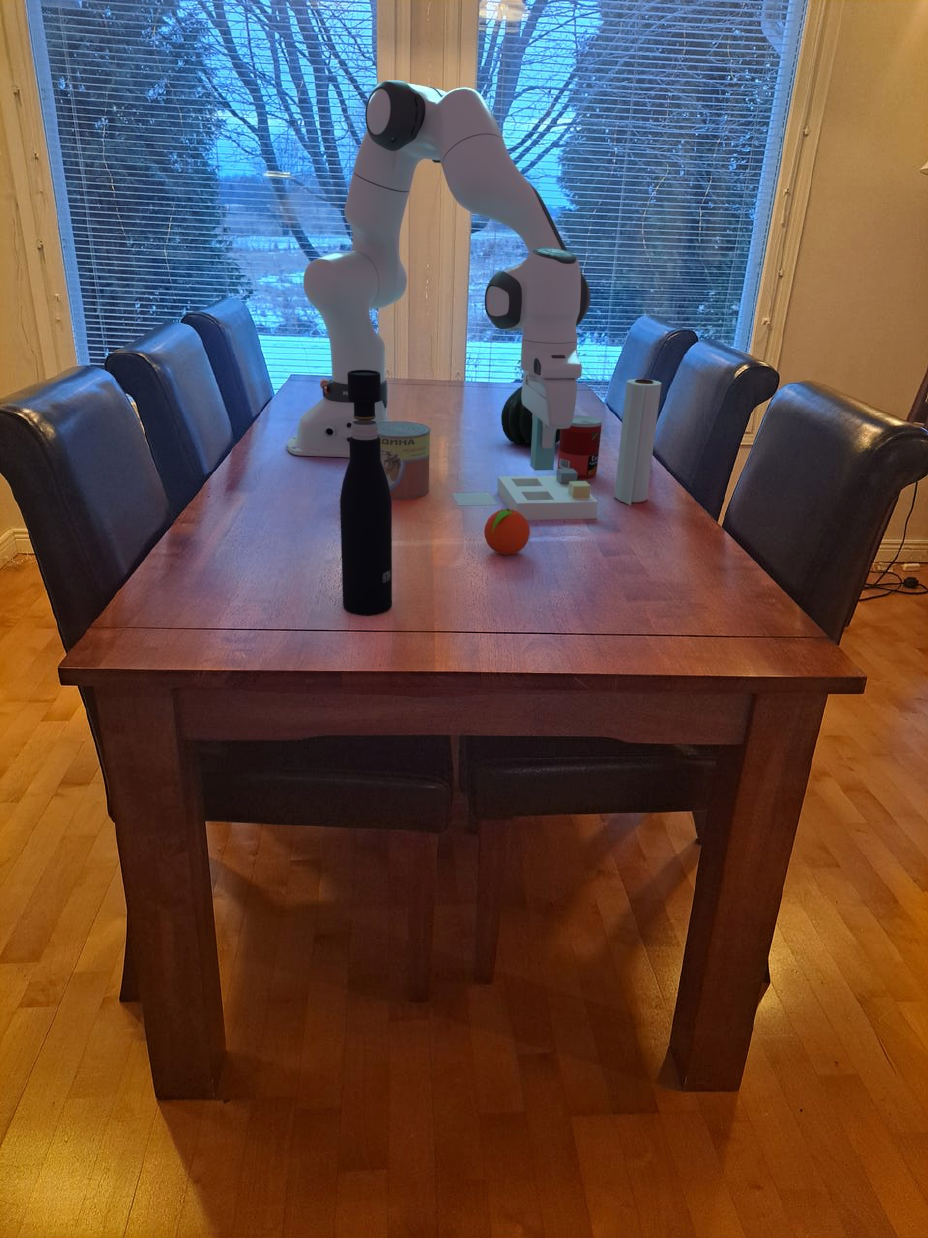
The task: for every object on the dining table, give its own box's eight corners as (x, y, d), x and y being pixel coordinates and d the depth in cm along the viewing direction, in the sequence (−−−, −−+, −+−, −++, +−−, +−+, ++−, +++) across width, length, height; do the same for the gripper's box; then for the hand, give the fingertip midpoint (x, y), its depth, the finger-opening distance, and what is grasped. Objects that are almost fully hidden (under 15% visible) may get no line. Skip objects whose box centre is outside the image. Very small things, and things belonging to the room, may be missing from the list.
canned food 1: (356, 498, 158) (355, 431, 153) (383, 481, 168) (383, 418, 163) (414, 506, 155) (415, 438, 150) (438, 489, 164) (439, 425, 159)
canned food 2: (595, 480, 173) (600, 425, 168) (554, 477, 174) (559, 421, 170) (597, 470, 180) (603, 416, 175) (558, 467, 181) (563, 413, 176)
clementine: (511, 567, 130) (513, 521, 127) (471, 557, 133) (472, 512, 130) (536, 551, 136) (539, 507, 133) (497, 542, 139) (499, 499, 136)
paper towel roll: (626, 491, 167) (640, 376, 158) (653, 499, 163) (668, 381, 154) (603, 498, 162) (615, 380, 153) (630, 506, 158) (644, 385, 149)
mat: (458, 508, 154) (458, 505, 154) (451, 496, 160) (452, 493, 160) (497, 507, 155) (497, 504, 155) (489, 495, 162) (489, 492, 161)
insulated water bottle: (343, 595, 119) (337, 367, 106) (391, 595, 119) (391, 368, 106) (341, 615, 113) (335, 376, 100) (392, 615, 113) (391, 377, 101)
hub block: (516, 523, 148) (517, 491, 146) (497, 494, 162) (498, 465, 160) (596, 521, 150) (599, 490, 148) (570, 493, 165) (572, 464, 162)
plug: (534, 470, 147) (538, 410, 143) (530, 465, 150) (533, 406, 146) (553, 470, 148) (557, 409, 143) (548, 465, 150) (552, 405, 146)
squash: (526, 431, 185) (561, 372, 187) (479, 421, 196) (512, 365, 197) (559, 468, 196) (592, 411, 197) (512, 456, 206) (543, 402, 207)
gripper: (514, 349, 150) (511, 430, 156) (545, 368, 132) (539, 459, 137) (550, 349, 151) (545, 429, 157) (585, 368, 133) (578, 458, 139)
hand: (543, 443), depth 147 cm, fingers closed on plug, 3 cm apart
